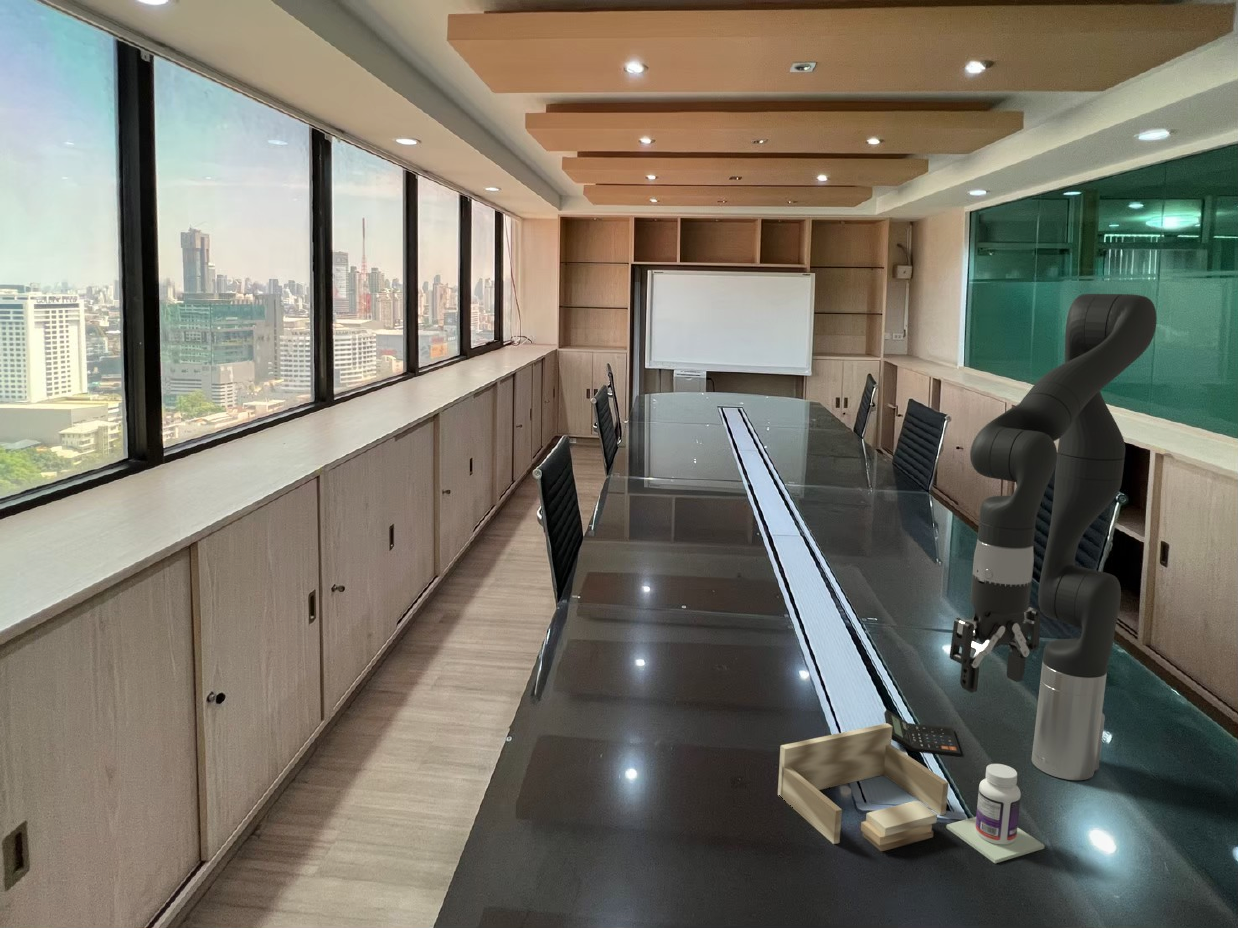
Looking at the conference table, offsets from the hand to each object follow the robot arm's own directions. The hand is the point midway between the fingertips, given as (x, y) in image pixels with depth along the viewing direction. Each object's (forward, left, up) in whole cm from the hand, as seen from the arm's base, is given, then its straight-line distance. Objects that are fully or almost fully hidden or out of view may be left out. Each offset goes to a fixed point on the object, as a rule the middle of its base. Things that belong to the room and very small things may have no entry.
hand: (991, 684), depth 129 cm
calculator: (-10, -23, -22) cm, 34 cm away
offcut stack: (+13, -2, -22) cm, 25 cm away
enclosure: (+13, -11, -21) cm, 27 cm away
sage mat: (+1, +4, -21) cm, 22 cm away
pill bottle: (0, +4, -21) cm, 21 cm away
